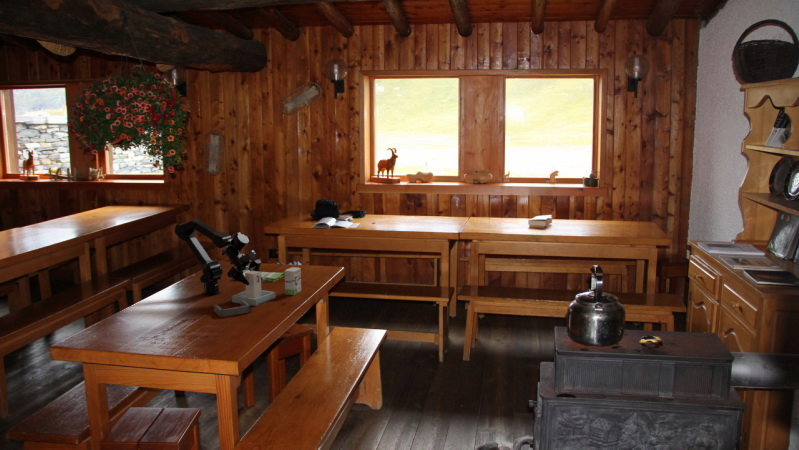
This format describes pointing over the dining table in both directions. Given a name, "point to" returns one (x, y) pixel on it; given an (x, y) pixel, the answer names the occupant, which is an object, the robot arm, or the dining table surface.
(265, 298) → the tray
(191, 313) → the dining table surface
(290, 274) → the ink box
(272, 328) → the dining table surface
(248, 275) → the tall beige block
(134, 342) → the dining table surface
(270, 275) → the dish towel
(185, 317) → the dining table surface
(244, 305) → the bay
